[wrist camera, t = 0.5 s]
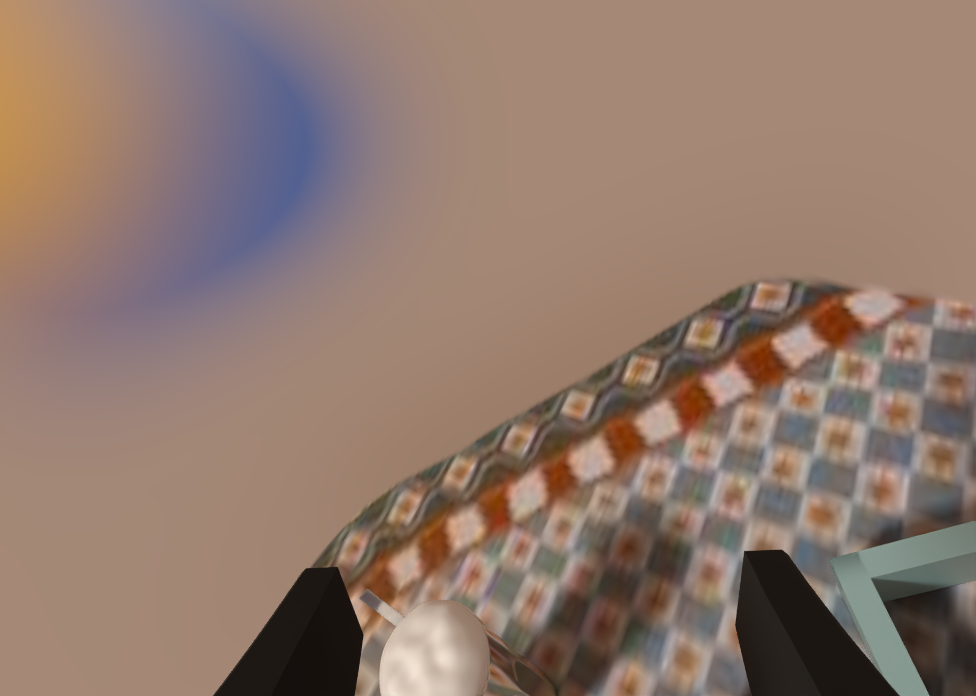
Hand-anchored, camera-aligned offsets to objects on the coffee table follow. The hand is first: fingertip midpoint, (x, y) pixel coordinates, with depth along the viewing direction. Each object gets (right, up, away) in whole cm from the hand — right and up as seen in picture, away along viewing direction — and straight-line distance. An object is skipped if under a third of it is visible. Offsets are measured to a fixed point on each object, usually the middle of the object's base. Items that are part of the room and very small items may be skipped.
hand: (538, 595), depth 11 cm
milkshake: (+1, -12, +18) cm, 21 cm away
